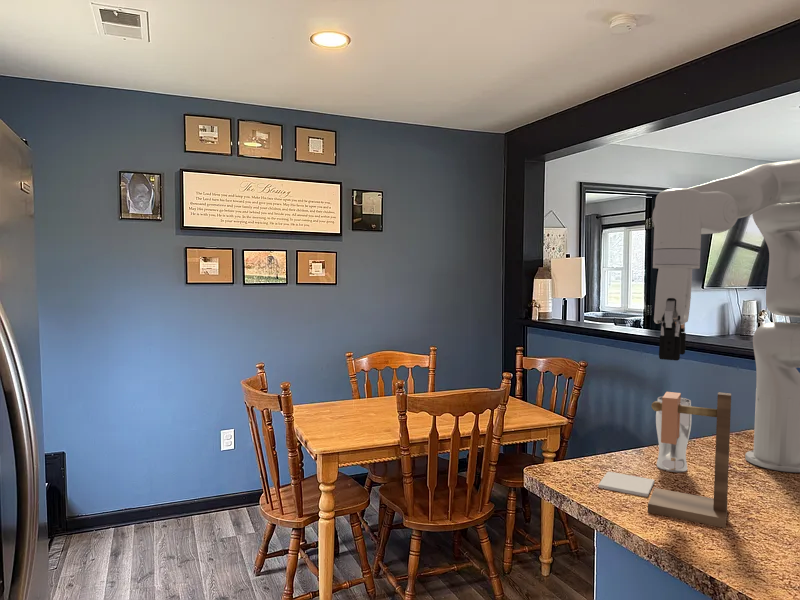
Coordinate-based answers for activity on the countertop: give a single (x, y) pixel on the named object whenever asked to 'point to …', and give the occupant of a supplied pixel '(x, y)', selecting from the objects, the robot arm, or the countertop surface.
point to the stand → (714, 508)
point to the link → (670, 417)
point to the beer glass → (674, 454)
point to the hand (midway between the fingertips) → (672, 356)
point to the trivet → (627, 484)
